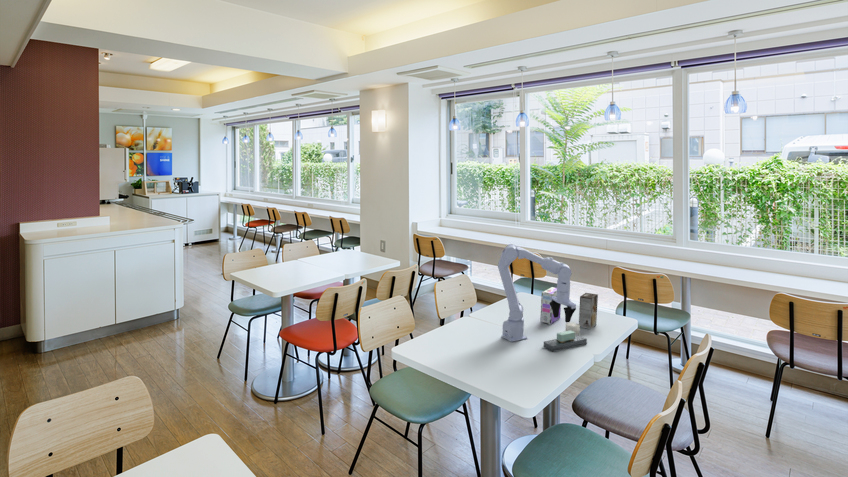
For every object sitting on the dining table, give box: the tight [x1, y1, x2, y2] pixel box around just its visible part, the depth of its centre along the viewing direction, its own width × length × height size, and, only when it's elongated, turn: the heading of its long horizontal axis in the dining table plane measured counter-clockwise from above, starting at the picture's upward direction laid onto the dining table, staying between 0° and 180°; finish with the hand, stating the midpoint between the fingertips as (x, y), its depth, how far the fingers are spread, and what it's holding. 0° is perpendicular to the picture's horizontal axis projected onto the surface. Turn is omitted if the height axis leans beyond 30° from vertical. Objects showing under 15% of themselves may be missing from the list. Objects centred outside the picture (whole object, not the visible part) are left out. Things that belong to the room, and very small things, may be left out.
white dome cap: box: [565, 322, 581, 336], centre depth 223 cm, size 6×6×5 cm
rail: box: [543, 334, 588, 353], centre depth 209 cm, size 20×6×2 cm, turn 116°
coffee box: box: [578, 292, 599, 330], centre depth 234 cm, size 9×6×16 cm
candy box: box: [539, 286, 562, 325], centre depth 243 cm, size 14×6×16 cm, turn 143°
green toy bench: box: [556, 330, 575, 343], centre depth 209 cm, size 8×3×6 cm, turn 116°
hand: (561, 319), depth 213 cm, fingers open, 7 cm apart
